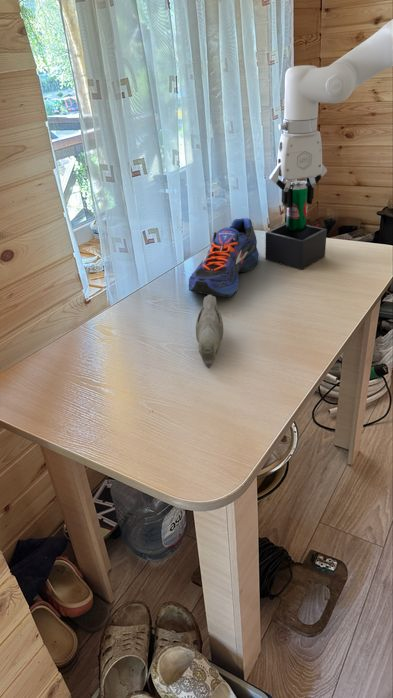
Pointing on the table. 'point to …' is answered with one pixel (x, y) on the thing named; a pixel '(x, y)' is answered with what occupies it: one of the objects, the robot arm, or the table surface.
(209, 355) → the decorative bird
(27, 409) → the table surface
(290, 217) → the soda can
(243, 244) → the running shoe
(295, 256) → the dark grey open box
